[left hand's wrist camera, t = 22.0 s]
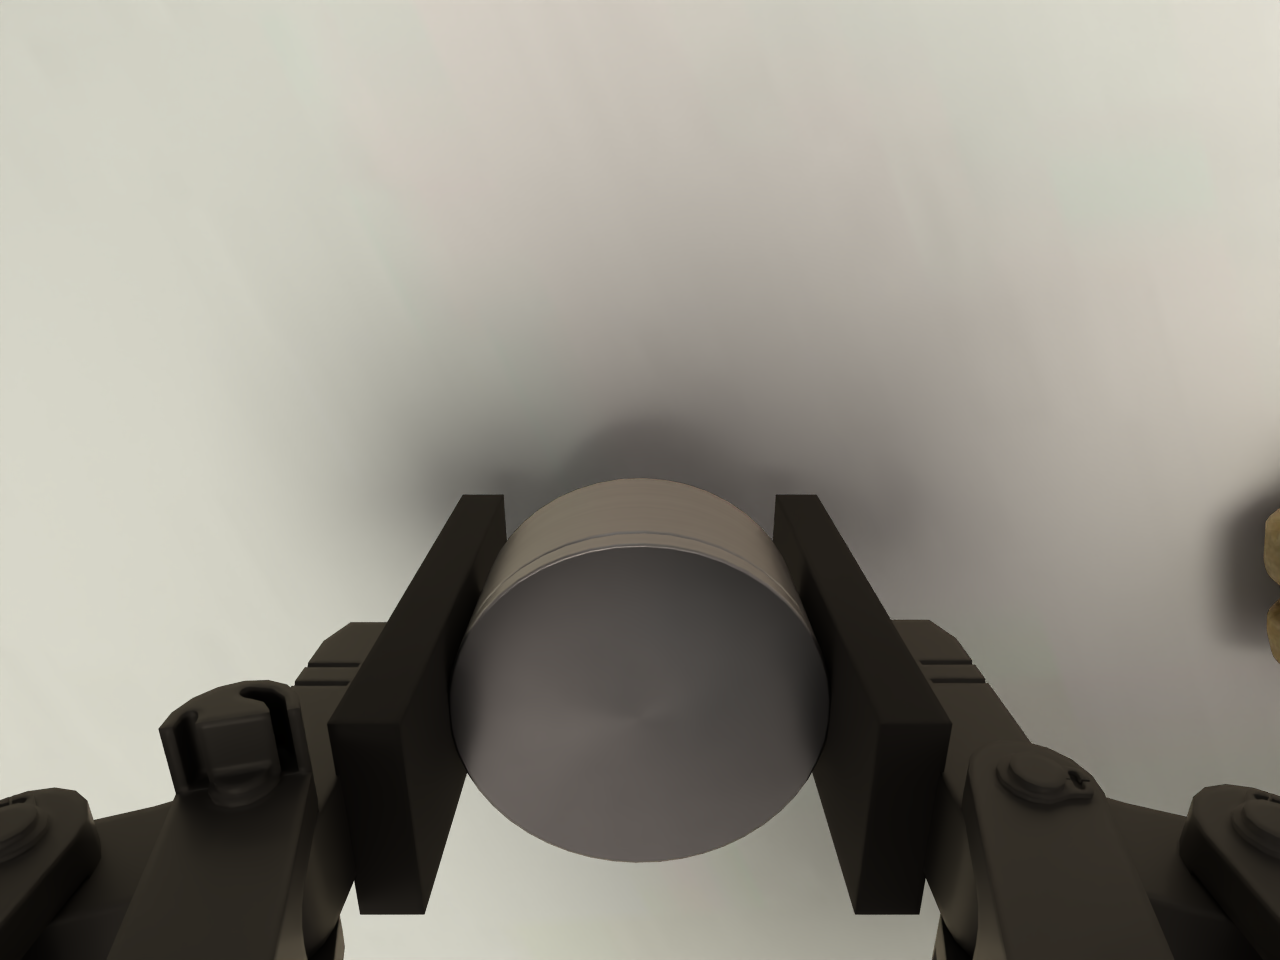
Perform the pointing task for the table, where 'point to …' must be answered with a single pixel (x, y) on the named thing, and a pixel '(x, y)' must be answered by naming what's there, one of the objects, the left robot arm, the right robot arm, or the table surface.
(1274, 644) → the sculpture
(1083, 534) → the table surface
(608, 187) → the table surface
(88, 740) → the table surface
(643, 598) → the lid
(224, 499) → the table surface
